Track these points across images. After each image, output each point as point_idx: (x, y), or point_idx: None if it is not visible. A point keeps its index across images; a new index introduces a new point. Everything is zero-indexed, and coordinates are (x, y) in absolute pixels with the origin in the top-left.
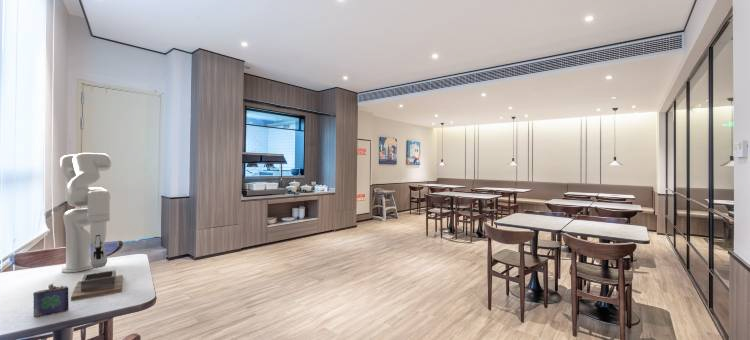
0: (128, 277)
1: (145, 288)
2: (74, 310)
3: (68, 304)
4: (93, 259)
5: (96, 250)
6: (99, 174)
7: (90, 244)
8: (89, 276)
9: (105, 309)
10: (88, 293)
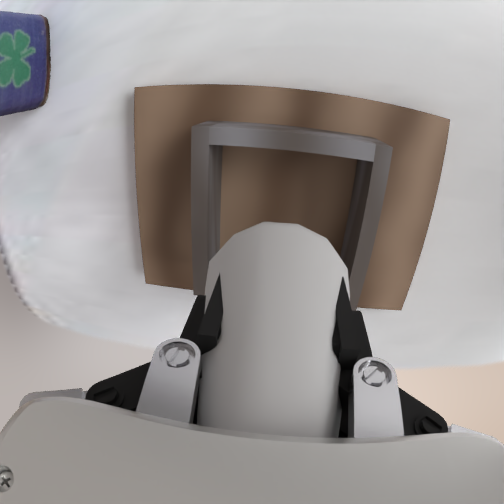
0: (377, 318)
1: (149, 340)
2: (27, 129)
3: (22, 111)
4: (221, 268)
5: (133, 373)
6: None
7: (22, 406)
8: (367, 173)
9: (6, 218)
10: (142, 158)
